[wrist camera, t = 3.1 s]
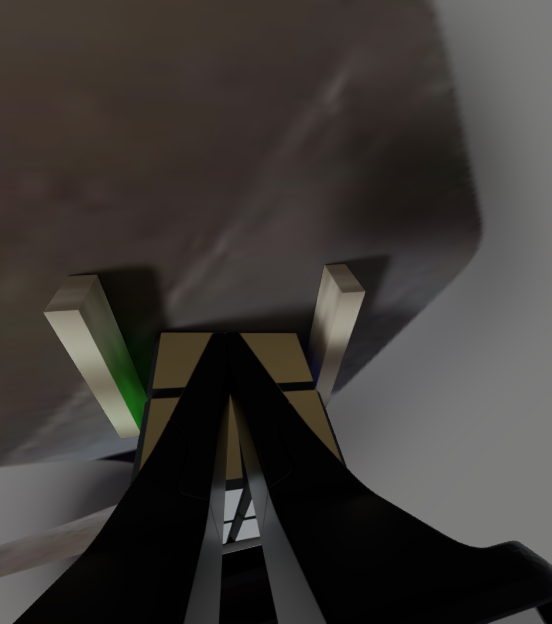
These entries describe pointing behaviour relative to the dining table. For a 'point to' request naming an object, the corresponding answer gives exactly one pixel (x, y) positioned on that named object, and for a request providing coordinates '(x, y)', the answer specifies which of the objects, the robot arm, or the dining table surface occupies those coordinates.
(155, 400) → the puzzle cube
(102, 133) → the dining table surface
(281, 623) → the robot arm
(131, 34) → the dining table surface
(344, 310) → the lane rails
